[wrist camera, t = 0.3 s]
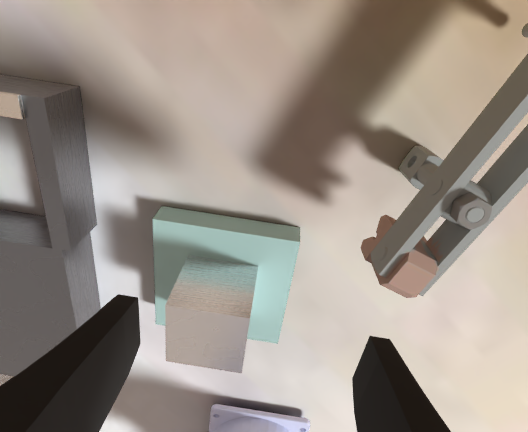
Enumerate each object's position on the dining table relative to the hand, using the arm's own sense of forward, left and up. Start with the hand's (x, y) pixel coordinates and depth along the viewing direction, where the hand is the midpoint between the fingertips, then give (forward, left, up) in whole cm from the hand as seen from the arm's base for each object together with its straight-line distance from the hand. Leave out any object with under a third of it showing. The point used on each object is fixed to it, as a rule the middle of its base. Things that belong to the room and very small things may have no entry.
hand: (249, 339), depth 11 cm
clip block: (-6, +2, -8) cm, 10 cm away
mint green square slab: (-5, +2, -10) cm, 11 cm away
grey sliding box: (-9, +14, -10) cm, 20 cm away
